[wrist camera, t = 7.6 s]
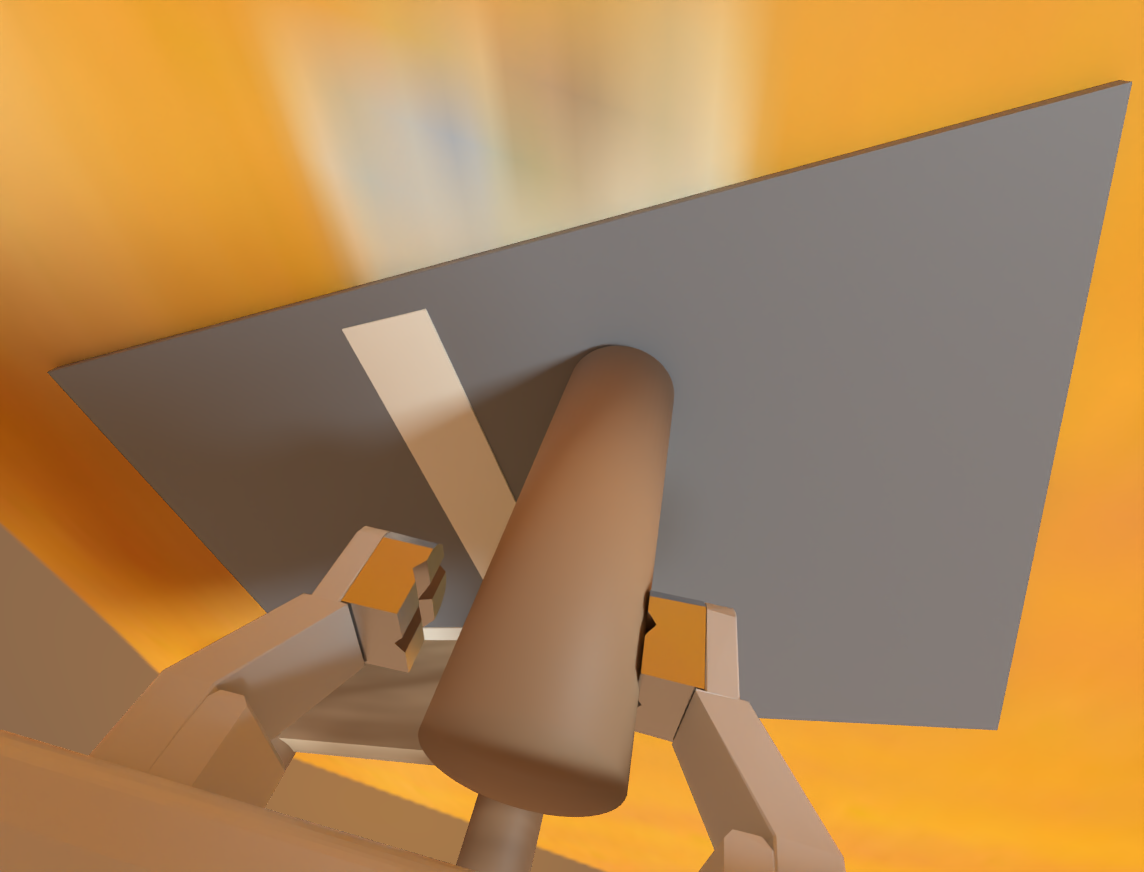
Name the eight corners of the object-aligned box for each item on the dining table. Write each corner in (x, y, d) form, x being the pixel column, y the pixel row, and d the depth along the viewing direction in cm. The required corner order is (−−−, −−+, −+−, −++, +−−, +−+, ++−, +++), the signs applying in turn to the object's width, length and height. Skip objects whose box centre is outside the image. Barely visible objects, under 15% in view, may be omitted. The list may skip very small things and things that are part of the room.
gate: (522, 622, 23) (422, 926, 15) (578, 333, 15) (417, 682, 7) (591, 642, 23) (524, 961, 15) (687, 361, 14) (652, 755, 7)
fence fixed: (287, 627, 28) (145, 824, 21) (567, 626, 23) (501, 888, 16) (318, 661, 30) (195, 855, 23) (587, 668, 25) (535, 923, 18)
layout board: (57, 366, 21) (45, 372, 21) (1119, 80, 10) (1134, 81, 10) (347, 690, 32) (343, 697, 32) (993, 719, 21) (998, 731, 21)
